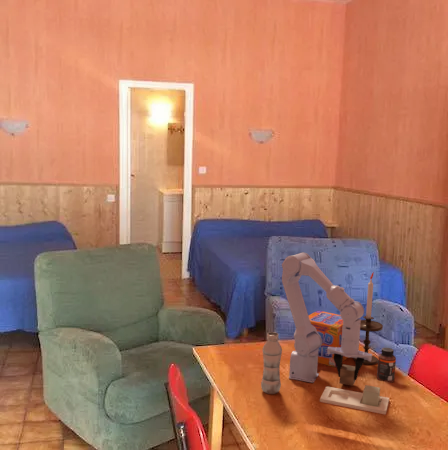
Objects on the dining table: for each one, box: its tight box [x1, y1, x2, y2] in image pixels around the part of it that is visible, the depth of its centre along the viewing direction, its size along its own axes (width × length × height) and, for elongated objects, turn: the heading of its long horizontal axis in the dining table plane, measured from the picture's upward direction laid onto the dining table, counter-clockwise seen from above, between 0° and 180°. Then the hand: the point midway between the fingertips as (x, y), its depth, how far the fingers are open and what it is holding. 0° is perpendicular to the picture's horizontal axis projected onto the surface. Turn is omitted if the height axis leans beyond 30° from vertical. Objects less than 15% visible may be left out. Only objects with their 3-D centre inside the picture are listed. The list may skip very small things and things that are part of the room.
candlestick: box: [353, 271, 384, 366], centre depth 211 cm, size 11×11×35 cm
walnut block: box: [339, 363, 356, 386], centre depth 186 cm, size 4×4×5 cm
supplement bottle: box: [376, 347, 397, 383], centre depth 195 cm, size 6×6×11 cm
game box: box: [308, 310, 350, 368], centre depth 215 cm, size 16×16×16 cm
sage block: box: [362, 384, 381, 407], centre depth 173 cm, size 4×4×5 cm
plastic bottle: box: [260, 331, 283, 395], centre depth 182 cm, size 6×7×20 cm
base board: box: [319, 386, 390, 415], centre depth 175 cm, size 20×10×2 cm, turn 68°
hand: (347, 377), depth 186 cm, fingers closed on walnut block, 4 cm apart
